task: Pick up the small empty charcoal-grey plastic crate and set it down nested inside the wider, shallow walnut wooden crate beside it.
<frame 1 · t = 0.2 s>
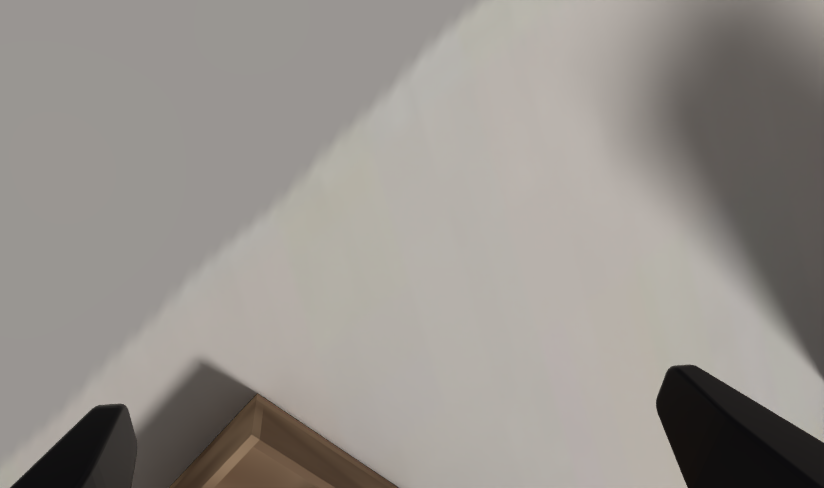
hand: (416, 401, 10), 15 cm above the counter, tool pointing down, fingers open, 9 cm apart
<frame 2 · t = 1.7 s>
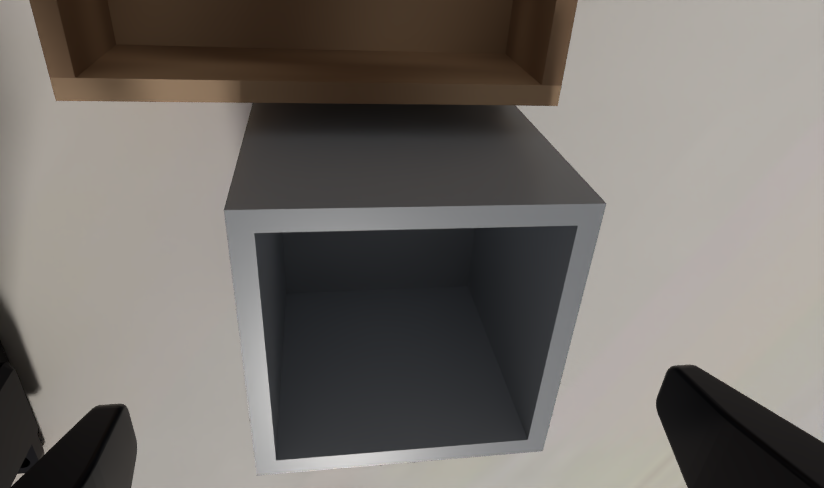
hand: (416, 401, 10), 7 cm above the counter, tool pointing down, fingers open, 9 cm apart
grey plastic crate: (380, 202, 16), on the counter
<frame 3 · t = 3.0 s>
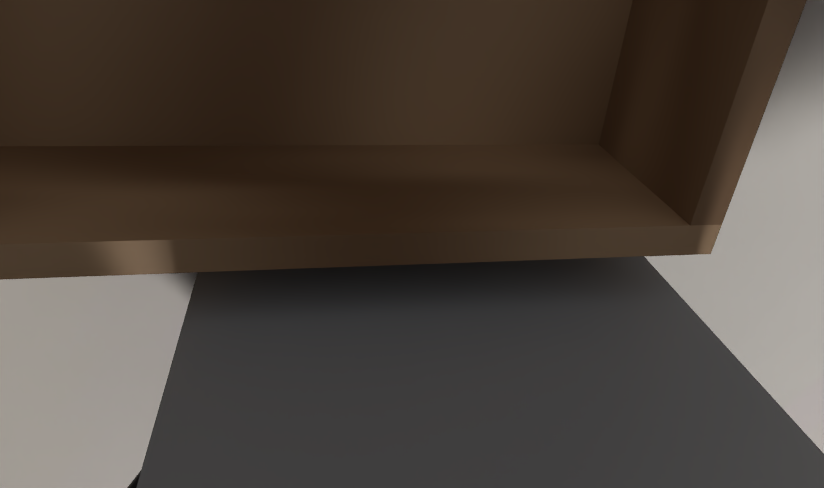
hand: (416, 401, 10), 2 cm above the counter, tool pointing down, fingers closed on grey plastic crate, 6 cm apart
grey plastic crate: (402, 340, 11), on the counter, touching gripper
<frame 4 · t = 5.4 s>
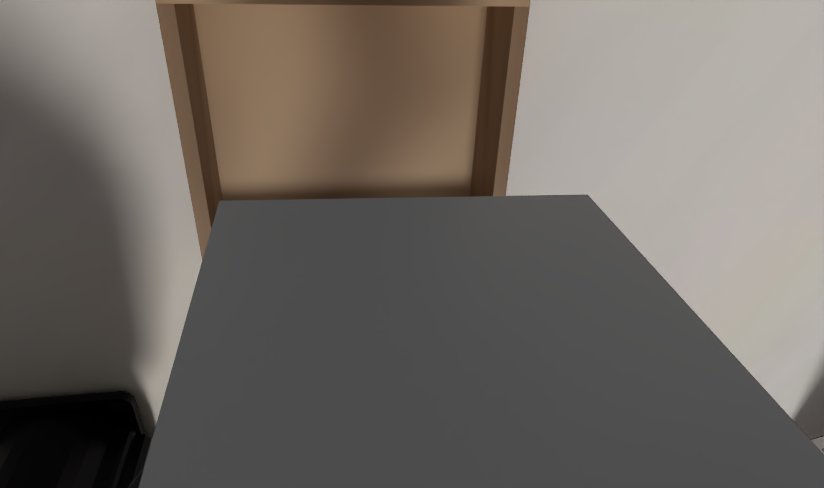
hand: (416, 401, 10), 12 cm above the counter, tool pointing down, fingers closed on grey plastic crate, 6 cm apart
walnut crate: (348, 126, 19), on the counter
grey plastic crate: (403, 340, 11), point 10 cm above the counter, touching gripper
when the fingers open (4 cm above the counter, at t = 7.7 s): grey plastic crate drops 2 cm, resting on walnut crate.
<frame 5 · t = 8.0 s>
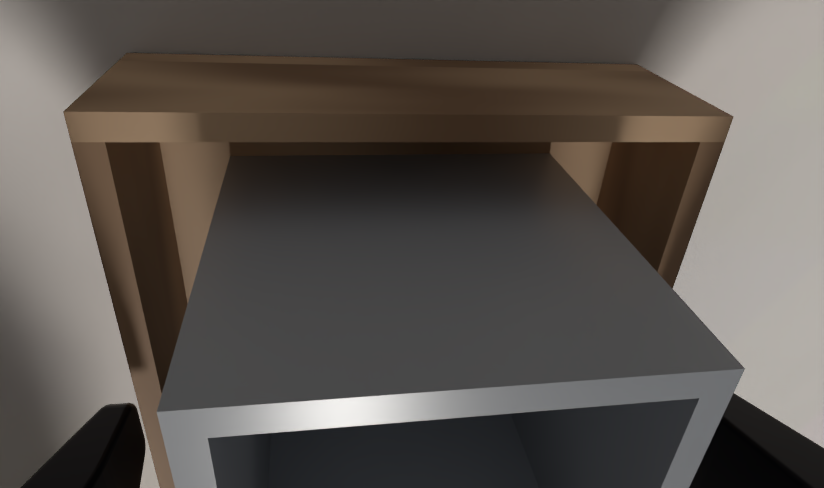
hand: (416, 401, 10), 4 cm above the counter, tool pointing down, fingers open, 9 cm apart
walnut crate: (389, 272, 13), on the counter
grey plastic crate: (391, 286, 12), resting on walnut crate
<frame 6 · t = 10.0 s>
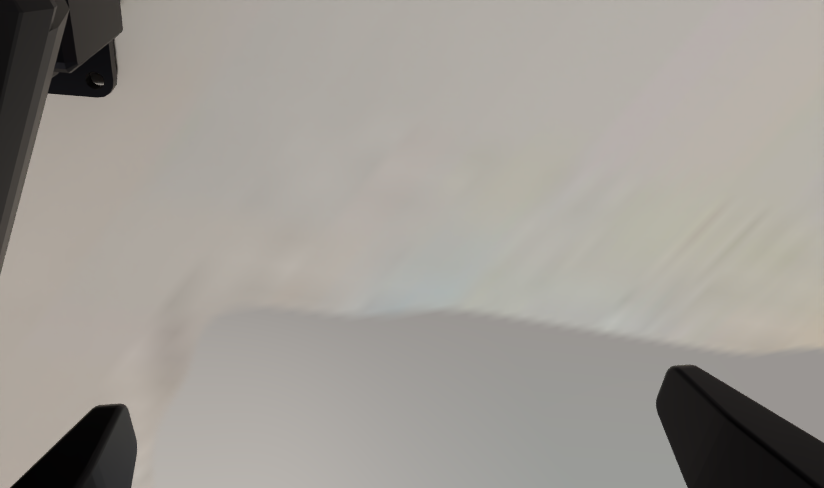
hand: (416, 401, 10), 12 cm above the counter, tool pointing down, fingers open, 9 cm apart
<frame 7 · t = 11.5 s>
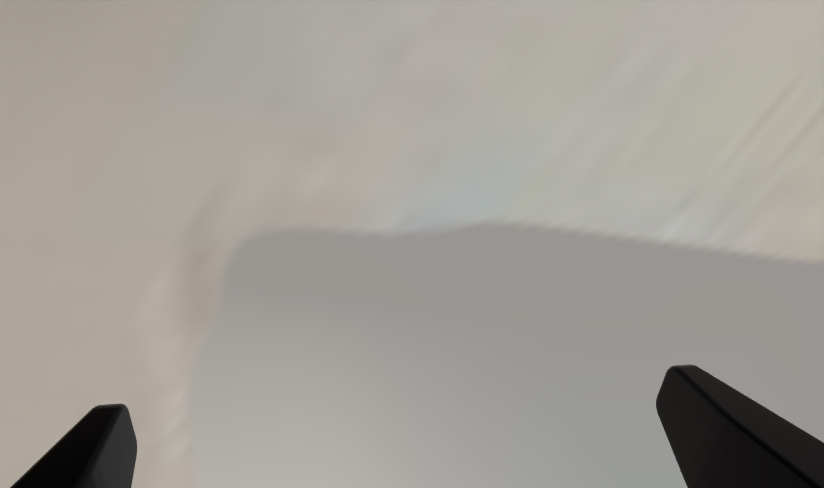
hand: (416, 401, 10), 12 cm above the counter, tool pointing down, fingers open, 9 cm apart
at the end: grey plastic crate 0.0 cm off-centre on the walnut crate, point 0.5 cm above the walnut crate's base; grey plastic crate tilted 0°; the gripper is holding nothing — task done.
